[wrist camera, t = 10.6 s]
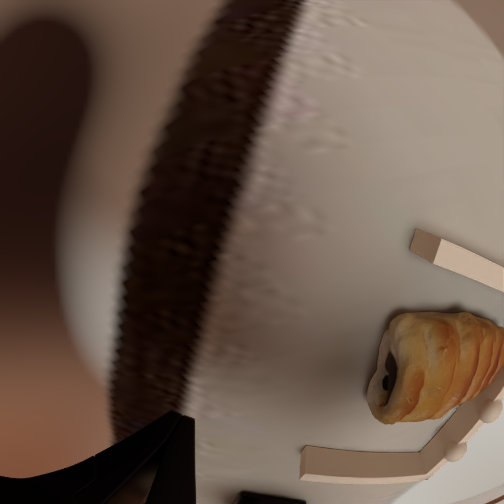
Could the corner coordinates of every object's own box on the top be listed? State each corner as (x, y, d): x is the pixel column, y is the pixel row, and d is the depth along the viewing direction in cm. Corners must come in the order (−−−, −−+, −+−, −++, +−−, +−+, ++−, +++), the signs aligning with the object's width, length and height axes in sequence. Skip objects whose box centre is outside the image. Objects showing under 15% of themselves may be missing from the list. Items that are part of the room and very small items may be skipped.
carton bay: (424, 458, 14) (432, 487, 10) (300, 452, 15) (298, 490, 12) (535, 285, 10) (566, 303, 6) (416, 228, 11) (453, 243, 7)
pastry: (508, 297, 10) (544, 323, 7) (476, 385, 12) (497, 418, 8) (381, 304, 12) (407, 346, 8) (358, 404, 14) (366, 451, 10)
